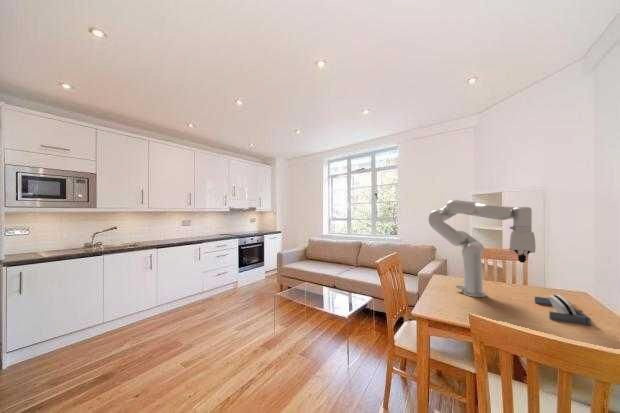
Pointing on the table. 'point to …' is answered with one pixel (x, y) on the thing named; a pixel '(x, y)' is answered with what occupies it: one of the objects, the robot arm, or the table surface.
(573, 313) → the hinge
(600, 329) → the table surface
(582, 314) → the bay
